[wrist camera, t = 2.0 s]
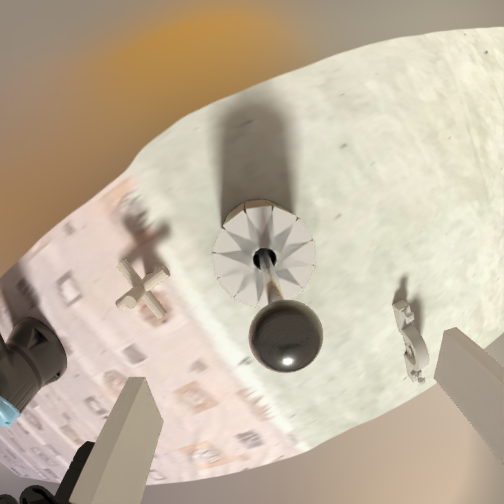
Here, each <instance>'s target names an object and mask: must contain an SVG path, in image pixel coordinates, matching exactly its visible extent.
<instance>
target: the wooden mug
mask: <svg viewBox="0 0 504 504" xmlns="http://www.w3.org/2000/svg"><path fill="white" fill-rule="evenodd" d="M266 247H267V248H269V249H272V250H273V251H274V252H275V254H276V260H275V262H274V264H273V267H274V269H275V272H276V275H277V278H278V281H279V284H280V286H281V289H282V292H283V295H284V298H285V300H291V299H292V298H294V297H295V296H296V295H298V294H299V293H301V292H302V291H303V288H302V287H304V288H306V286H307V284H308V282H309V280H310V278H311V276H312V274H313V272H314V270H315V268H316V267H315V266H314V265H315V264H316V253H315V241H314V240H313V237H312V235H311V234H310V232H309V231H308V229H307V228H306V227H305V225H304V224H303V222H302V221H301V220H300V218H298V217H297V216H296V215H294V214H292V213H291V212H289V211H288V210H286V209H284V208H283V207H281V206H279V205H277V204H276V203H274V202H271V201H269V200H265V199H253V200H248V201H245V202H243V203H241V204H239V205H238V206H236V207H235V208H234V209H233V210H232V211H231V212H230V213H229V214H228V216H227V217H226V219H225V221H224V224H223V226H222V227H221V230H220V232H219V235H218V237H217V240H216V242H215V245H214V247H213V250H212V251H213V252H212V260H213V266H214V272H215V277H217V281H218V282H219V283H220V285H221V286H222V287H223V288H224V289H225V291H226V292H227V293H228V294H229V295H230V297H231V298H232V297H234V300H237V301H239V302H242V303H245V304H247V305H250V306H253V307H255V308H256V306H257V304H258V307H259V308H264V307H265V306H266V305H268V301H267V296H266V291H265V286H264V281H263V276H262V271H261V268H260V267H258V266H256V264H255V263H254V262H253V256H254V254H255V252H256V251H257V250H259V249H260V248H266Z"/></svg>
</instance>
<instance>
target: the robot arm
mask: <svg viewBox="0 0 504 504" xmlns="http://www.w3.org/2000/svg"><path fill="white" fill-rule="evenodd" d="M66 368H67V359H66V354H65V352H64V349H63V347H62V345H61V343H60V341H59V340H58V338H57V337H56V336H55V334H54V333H53V332H52V331H51V330H50V329H49V328H48V327H47V326H46V325H44V324H43V323H42V322H40V321H38V320H36V319H33V318H25V319H23V320H21V321H20V322H19V323H17V324H16V325H15V326H14V328H13V330H12V332H11V334H10V336H9V338H8V340H7V342H6V343H5V342H4V340H3V338H2V336H1V333H0V426H4V427H7V426H10V425H11V424H12V423H13V422H14V421H15V420H16V419H17V418H18V417H20V414H21V413H22V412H23V410H24V409H25V408H26V406H27V405H28V404H29V402H30V401H31V400H32V399H33V397H34V396H35V395H36V394H37V392H38V391H39V390H40V389H41V388H42V387H44V386H46V385H48V384H50V383H52V382H54V381H56V380H58V379H59V378H60V377H61V376H62V375H63V374H64V372H65V371H66ZM434 379H435V380H436V381H437V383H438V384H439V385H440V386H441V387H442V389H443V390H444V391H445V392H446V393H447V394H448V396H449V397H450V398H451V399H452V400H453V402H454V403H455V404H456V406H458V408H459V409H460V410H461V412H462V413H463V414H464V415H465V417H466V418H467V419H468V421H469V422H470V423H471V424H472V426H473V427H474V428H475V429H476V431H477V432H478V433H479V435H480V436H481V437H482V439H483V440H484V441H485V442H486V444H487V445H488V446H489V448H490V449H491V450H492V452H493V453H494V454H495V456H496V457H497V459H498V460H499V461H500V463H501V464H502V465H503V466H504V367H503V366H502V365H501V364H499V363H498V362H497V361H496V360H495V359H494V358H493V357H491V356H490V355H489V354H488V353H487V352H486V351H485V350H483V349H482V348H481V347H480V346H479V345H477V344H476V343H475V342H474V341H472V340H471V339H470V338H469V337H468V336H466V335H465V334H464V333H463V332H461V331H460V330H459V329H458V328H456V327H454V328H451V329H448V330H445V331H444V333H443V338H442V343H441V348H440V353H439V357H438V362H437V366H436V370H435V374H434ZM163 422H164V421H163V419H162V417H161V415H160V412H159V410H158V408H157V405H156V403H155V401H154V398H153V396H152V393H151V391H150V388H149V386H148V383H147V381H146V378H145V377H129V378H128V380H127V382H126V384H125V386H124V388H123V389H122V391H121V393H120V395H119V397H118V399H117V401H116V403H115V405H114V407H113V409H112V411H111V413H110V415H109V417H108V419H107V420H106V422H105V424H104V426H103V428H102V430H101V432H100V435H99V437H98V439H97V441H96V443H95V442H90V441H86V442H85V443H84V444H83V445H82V446H81V447H80V448H79V449H78V450H77V452H76V454H75V456H74V458H73V461H72V462H71V464H70V466H69V469H68V470H67V472H66V474H65V476H64V478H63V480H62V482H61V484H60V486H59V488H58V490H57V492H56V495H55V496H53V495H52V494H51V493H50V492H49V491H48V490H47V489H45V488H44V487H42V486H39V485H33V486H30V487H27V488H26V489H25V490H24V491H23V492H22V493H21V496H20V503H19V502H18V501H17V500H16V499H15V498H13V497H12V496H10V495H7V494H4V495H0V504H140V503H141V499H142V496H143V492H144V488H145V485H146V481H147V477H148V474H149V470H150V467H151V463H152V460H153V456H154V453H155V449H156V446H157V442H158V439H159V435H160V432H161V429H162V425H163Z"/></svg>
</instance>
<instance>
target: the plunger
mask: <svg viewBox="0 0 504 504" xmlns="http://www.w3.org/2000/svg"><path fill="white" fill-rule="evenodd" d="M275 260H276V254H275V252H274V251H273V250H272V249H269V248H267V247H266V248H260V249H259V250H257V251H256V252H255V254H254V256H253V262H254V263H255V264H256V266H258V267H260V268H261V271H262V276H263V281H264V286H265V291H266V296H267V301H268V305H266V306H265V307H264V308H262V309H261V310H260V311H259V312H258V313H257V314H256V316H255V317H254V319H253V321H252V323H251V326H250V329H249V344H250V348H251V351H252V353H253V355H254V357H255V358H256V359H257V360H258V362H259V363H260V364H262V365H263V366H264V367H266V368H268V369H270V370H272V371H275V372H279V373H291V372H296V371H299V370H301V369H303V368H305V367H307V366H308V365H309V364H310V363H312V362H313V360H314V359H315V358H316V357H317V355H318V354H319V352H320V349H321V347H322V342H323V329H322V325H321V322H320V320H319V318H318V316H317V315H316V314H315V312H314V311H313V310H312V309H310V308H309V307H308V306H306V305H305V304H303V303H301V302H298V301H294V300H285V298H284V295H283V292H282V289H281V286H280V284H279V281H278V278H277V275H276V272H275V269H274V267H273V264H274V262H275Z"/></svg>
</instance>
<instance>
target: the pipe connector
mask: <svg viewBox="0 0 504 504" xmlns="http://www.w3.org/2000/svg"><path fill="white" fill-rule="evenodd" d="M117 268H118V269H119V270H120V272H121V273H122V274H123V276H124V277H125V278H126V280H127V281H128V282H129V284H130V285H131V286H132V287H133V288H132V289H131V290H130V291H128V292H127V293H126V294H124V295H123V296H122V297H121V298H119V299H118V300H117V301H116V306H117V308H118V309H119V310H121V311H123V310H124V309H126V308H127V307H128V308H134V307H135V306H136V305H137V304H138V302H139V301H140V300H141V299H142V300H143V301H144V302H145V304H146V305H147V306H148V307H149V309H150V310H151V311H152V312H153V313H154V315H155V316H156V317H157V318H158V319H159V318H161V317H162V316H164V315H165V314H166V313H167V311H166V309H165V308H164V307H163V306H162V304H161V303H160V302H159V301H158V300H157V298H156V297H155V296H154V295H153V293H152V292H151V291H150V290H151V289H152V288H154V287H155V286H156V285H158V284H159V283H161V282H162V281H163V280H165V279H166V278H167V277H169V276H170V272H169V270H168V269H167V268H166V267H165V266H164V265H162V266H161V267H159V268H158V269H157V270H155V271H154V272H153V273H148V274H147V275H146V276H145V277H144V278H143V279H141V278H140V277H139V276H138V274H137V273H136V272H135V270H134V269H133V268H132V266H131V265H130V264H129V262H128V261H127V260H126V258H125V259H124V260H123V261H121V262H120V263H119V264H118V265H117Z"/></svg>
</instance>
